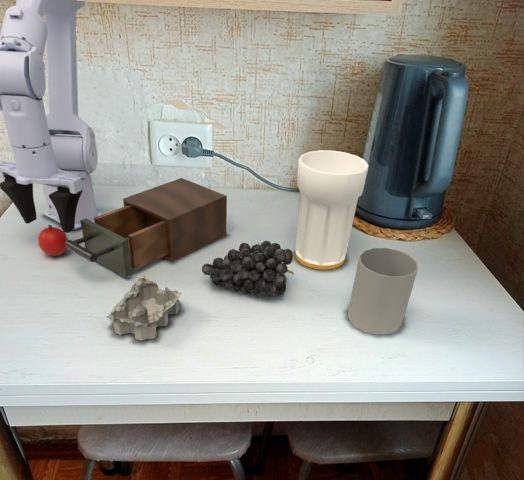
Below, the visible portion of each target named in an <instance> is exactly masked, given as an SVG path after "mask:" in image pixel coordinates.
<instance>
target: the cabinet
mask: <svg viewBox="0 0 524 480" xmlns="http://www.w3.org/2000/svg"><path fill="white" fill-rule="evenodd" d="M122 202H123V203H122V204H123V207H125V206H127V205H131V206H134V207H136V208H138V209H140V210H142V211H144V212H147V213H149V214H151V215H153V216H155V217H157V218H160V219H162V220H164V221H166V222H167V231H168V246H169V254H168V255H166V256H164V257H162V258H161V259H164V260H166V261H169V263H174V262H175V261H178V260H180V259H182V258H185V257H186V256H188V255H190V254H192V253H193V252H196V251H199V250H200V249H202V248H205V247H206V246H208V245H210V244H212V243H215V242H217V241H219V240H220V239H223V238H225V237H227V225H228V224H227V219H228V218H227V216H228V215H227V213H228V211H227V209H228V196H227V195H225V194H224V193H221V192H219V191H216V190H213V189H211V188H208V187H206V186H203V185H201V184H199V183H196V182H193V181H191V180H188V179H186V178H184V177H180V178H177V179H175V180H172V181H169V182H165V183H163V184H161V185H157V186H155V187H151V188H149V189H146V190H144V191H140V192H137V193H135V194H132V195H129V196H127V197H126V196H125V197H123V198H122Z"/></svg>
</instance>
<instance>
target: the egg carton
mask: <svg viewBox="0 0 524 480" xmlns="http://www.w3.org/2000/svg"><path fill="white" fill-rule="evenodd" d="M181 295H182V292H179V291H178V290H176V289H174V290H172V289H170V288H169V287H168V286H165V287H164V289H161V288H159V286H158V283H156V282H155V281H153V280H150V279H148V278H146V276H145V275H143V276H141V278H140V277H139V278H138V279H137V280H136V281H135V282H134V283H133V285H131V288H130V291H128V292H126V293H125V295H124V296H123V298H122V299H121V300H120V301H119V302H117V303H116V304H115V305H114V307H113V309H112V311H110V314H108V315H106V316H105V318H106V319H109V321H111V322H112V328H113V329H114V333H115V334H117V335H119V336H122V335H124V334H133V335H134V337H135V338H134V339H135V340H136V341H140V342H141V341H145V340H154V339H155V338H156V337H157V335H158V333H157V328H158V327H166V326H167V325H168V324H169V315H177V314H178V313H179V312H180V303H179V301H180V300H179V298H180V297H181Z"/></svg>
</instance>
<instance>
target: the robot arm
mask: <svg viewBox="0 0 524 480" xmlns="http://www.w3.org/2000/svg"><path fill="white" fill-rule="evenodd" d="M85 5H86V0H85V1H77V0H15V5H12V6H10V7H9V8H7V9H6V11H5V13H4V17H3V21H2V25H1V30H0V111H1V112H2V115H3V119H4V123H5V128H6V131H7V135H8V139H9V143H10V148H11V151H12V156H13V159H14V162H12V161H5V160H4V161H2V162H0V178H3V181H1V182H0V190H1V191H2V192H4V194H5V195H6V196H7V197H8V198H9V200H10V201H11V202H12V203H13V205H14V206H15V208H16V209H17V211H18V213H19V215H20V217H21V218H22V220H23V222H24V223H25V224H30V223H32V222H34V221H36V220H37V209H36V203H35V199H34V185H36V184H38V185H42V189H43V194H44V198H45V203H46V207H47V211H44V216H45V217H48V218H49V219H51V220H53V221H55V222H56V223H58V224H60V228H61V230H62V231H63V232H64V233H65V234H69V233H70V232H72V231H74V230H78V229H80V228H81V229H82V227H81V222H80V220H83V219H88V220H90V221H92V222H94V223H95V221H94V218H95V217H97V216H100V215H103V214H104V213H103V212H101V211H99V210H97V204H96V197H95V192H94V185H93V179H92V174H93V173H94V172H95V170H96V169H97V167H98V157H99V156H98V155H99V154H98V147H97V144H96V134H95V132H94V129H93V128H92V127H91V125H89V124H88V123H87V122H85V121H84V120H83V119H82V118H81V117H80V116H79V101H78V100H79V97H78V96H79V93H78V91H79V90H78V62H77V61H78V60H77V13H78V11H79V10H81V9H82V8H84V7H85ZM44 15H45V16H44ZM44 17H45V18H44ZM43 18H44V19H45V20H44V19H43ZM45 49H46V64H45V62H44V54H45ZM46 69H47V71H46ZM46 72H47V80H46ZM46 89H47V93H48V114H46V108H45V104H44V97H45V93H46Z"/></svg>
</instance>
